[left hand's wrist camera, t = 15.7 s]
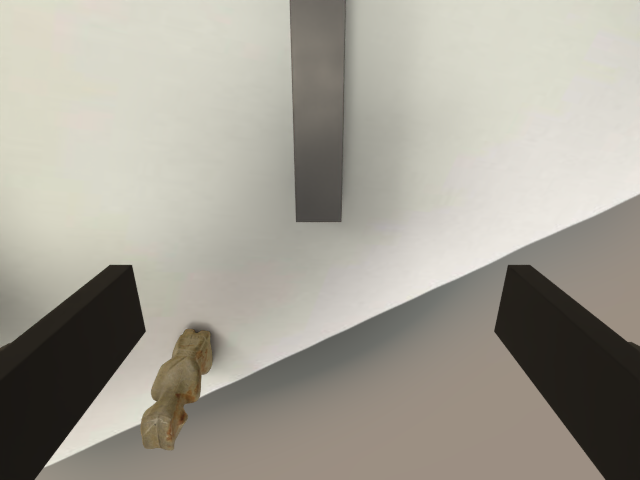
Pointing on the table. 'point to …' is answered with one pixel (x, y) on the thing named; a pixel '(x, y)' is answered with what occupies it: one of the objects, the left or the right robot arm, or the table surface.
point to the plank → (318, 107)
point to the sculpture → (176, 389)
